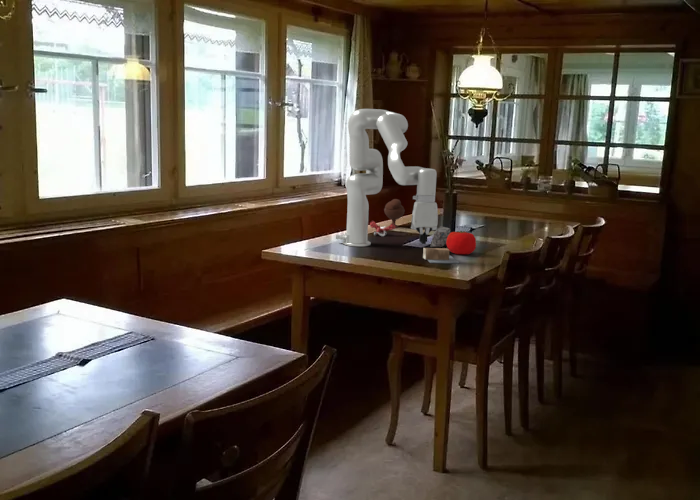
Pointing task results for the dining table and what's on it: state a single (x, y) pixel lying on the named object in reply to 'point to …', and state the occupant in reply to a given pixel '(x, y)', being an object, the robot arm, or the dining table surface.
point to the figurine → (381, 228)
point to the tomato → (461, 242)
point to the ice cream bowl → (394, 210)
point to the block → (436, 253)
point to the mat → (451, 260)
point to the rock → (440, 237)
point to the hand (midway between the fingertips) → (423, 243)
